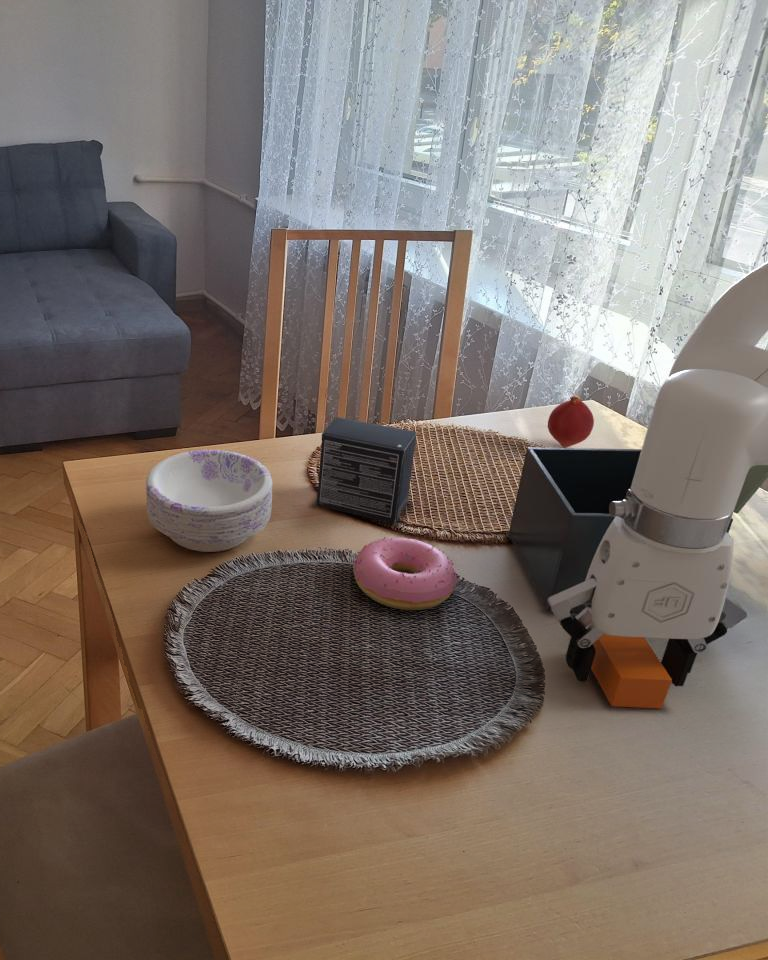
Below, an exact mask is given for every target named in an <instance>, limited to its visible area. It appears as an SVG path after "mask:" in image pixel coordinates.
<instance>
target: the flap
mask: <svg viewBox="0 0 768 960" xmlns="http://www.w3.org/2000/svg"><path fill="white" fill-rule="evenodd" d="M767 479H768V465H755V466H752V467H751V468H750V469H749V470H748V473H747V475H746V478H745V481H744V484H743V486H742V489H741V492H740V495H739V497H738V500H737V503H736V506H735V509H734V512H733V514H734V513H735V514H737V515H738V514H739V513H740V512H741V510H742V509H743V508H744V507H745V506H746V505H747V503H748V502H749V501H750V499H751V498H752V497H753V496H754V495H755V493H756V492H757V491H758V490H759V489H760V488H761V486H762V485H763V484H764V482H766V480H767Z"/></svg>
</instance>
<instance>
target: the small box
mask: <svg viewBox="0 0 768 960" xmlns="http://www.w3.org/2000/svg"><path fill="white" fill-rule="evenodd" d="M417 437H418V432H417V431H414V430H409V429H404V428H399V427H392V426H386V425H382V424H376V423H371V422H366V421H360V420H354V419H350V418H344V417H340V416H339V417H336V418H335V419H333V421H332V422H331V423H330V424H329V425H328V427H326V429H324V430H323V432H322V433H321V444H320V445H321V447H320V449H321V450H320V458H319V459H320V460H319V470H318V482H317V493H316V494H317V495H316V501H315V506H316V507H320V508H324V509H329V510H333V511H337V512H341V513H345V514H349V515H354V516H358V517H363V518H367V519H372V520H374V521H379V522H383V523H387V524H391V525H396V524H397V523H398V521H399V519H400V518H401V516H402V513H403V512H404V511H405V509H406V507H407V505H408V501H409V493H410V487H411V479H412V471H413V465H414V458H415V452H416V444H417Z"/></svg>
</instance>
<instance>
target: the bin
mask: <svg viewBox="0 0 768 960" xmlns="http://www.w3.org/2000/svg"><path fill="white" fill-rule="evenodd" d="M641 450H642V448H640V449H639V448H638V449H637V448H635V449H634V448H594V447H593V448H589V447H587V448H586V447H585V448H584V447H536V446H535V447H532V446H530V447H529V446H528V447H526V451H525V457H524V460H523V465H522V469H521V475H520V479H519V483H518V489H517V492H516V497H515V501H514V506H513V511H512V516H511V521H510V525H509V529H508V534H507V535H508V538H509V540H510V542H511V543H512V545H513V547H514V550H515V551H516V553H517V555H518V557H519V559H520V561H521V564H522V565H523V566H524V569H525V571H526V572H527V574H528V577H529V578H530V580H531V582H532V584H533V586H534V588H535V590H536V592H537V593H538V595H539V597H540V599H541V602H542V604H543V605H544V607H545V609H546V611H547V612H551V613H553V612H552V610H551V608H550V607H549V605H548V603H547V599H548V598H549V597H551V596H553V595H555V594H558V593H560V592H562V591H564V590H566V589H569V588H571V587H573V586H575V585H578V584H580V583H582V582H584V581H585V580H586V577H587V574H588V571H589V568H590V565H591V563H592V560H593V558H594V555H595V553H596V551H597V549H598V546H599V544H600V542H601V540H602V538H603V536H604V535H605V533H606V531H607V529H608V528H609V526H610V524H611V523H612V521H613V520H614V518H615V517H612V516H611V515H610V513H609V505H610V503H611V502H612V501H620V500H624V499H625V497H626V494H627V490H628V489H630V487H631V485H632V481H633V478H634V474H635V471H636V467H637V464H638V460H639V457H640V453H641ZM733 521H734V518H733V517H731V520H730V523H729V526H728V528H727V531H726V532H727V533H728V534H729V533H730V531H731V527H732V524H733ZM585 608H586V606H584V605H583V604H581V605H579V606H576V607H574V608H572V609H571V610H570V613H575V614H576V613H578V614H579V613H580V612H581V611H582V610H584V609H585Z"/></svg>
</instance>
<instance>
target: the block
mask: <svg viewBox="0 0 768 960" xmlns="http://www.w3.org/2000/svg"><path fill="white" fill-rule="evenodd" d="M593 646H594V647H595V649H596V654H595V657H594V660H593V664H592V667H591V671H592V673H593V674H594V676H595V678H596V680H597V682H598V685H599V686H600V688H601V689H602V691H603V693H604V695H605V697H606V699H607V701H608V703H609V704H610V707H617V708H619V707H620V708H642V709H663V706H664V704H665V701H666V698H667V695H668V692H669V690H670V687H671V684H672V679H671V677H670V676H669V674H668V673H667V671H666V670H665V668H664V667H663V665H662V664H661V660H660V659H659V657H658V656H657V654H656V653H655V651H654V649H653V648H652V647H651V645H650V643H649V642H648V641H647V638H641V637H621V636H611V635H606V634H604V635H603V636H602V637H600V638H599V639H598V640H597V641H596V642H594V643H593Z"/></svg>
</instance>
